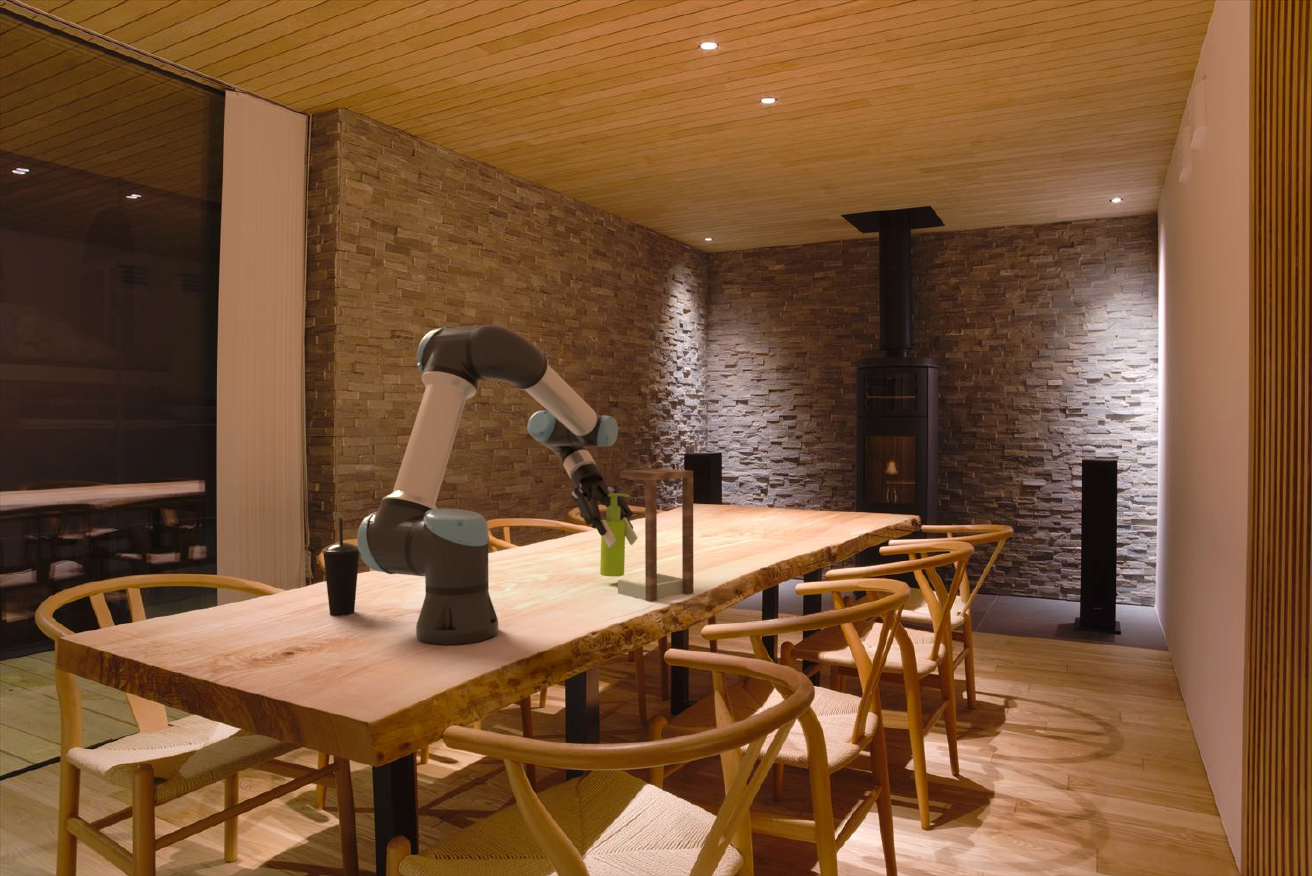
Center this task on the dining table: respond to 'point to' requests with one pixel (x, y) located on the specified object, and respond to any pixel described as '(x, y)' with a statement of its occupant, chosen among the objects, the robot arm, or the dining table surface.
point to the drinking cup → (341, 575)
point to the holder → (664, 587)
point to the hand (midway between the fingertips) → (623, 542)
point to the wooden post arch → (651, 525)
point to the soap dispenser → (616, 555)
